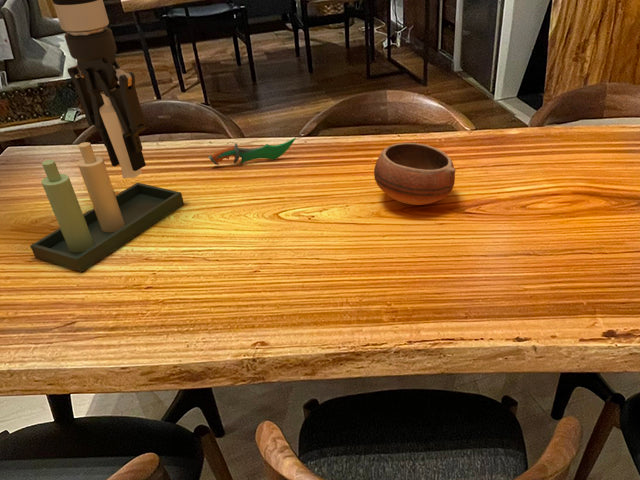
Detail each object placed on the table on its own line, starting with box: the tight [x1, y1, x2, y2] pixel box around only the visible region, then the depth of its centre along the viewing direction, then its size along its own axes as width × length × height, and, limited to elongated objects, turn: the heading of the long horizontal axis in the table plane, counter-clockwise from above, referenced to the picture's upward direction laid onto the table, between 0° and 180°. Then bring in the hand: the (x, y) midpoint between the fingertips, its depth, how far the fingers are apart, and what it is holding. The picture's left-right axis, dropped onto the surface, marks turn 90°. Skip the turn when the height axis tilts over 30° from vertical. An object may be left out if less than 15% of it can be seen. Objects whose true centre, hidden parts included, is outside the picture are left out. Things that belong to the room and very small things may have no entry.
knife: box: [208, 137, 297, 166], centre depth 139 cm, size 20×2×5 cm, turn 104°
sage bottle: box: [40, 159, 94, 253], centre depth 108 cm, size 4×4×16 cm
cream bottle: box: [76, 141, 125, 232], centre depth 114 cm, size 4×4×16 cm
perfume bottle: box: [99, 92, 143, 179], centre depth 114 cm, size 5×4×15 cm
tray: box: [29, 182, 185, 273], centre depth 119 cm, size 12×28×3 cm, turn 153°
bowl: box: [373, 142, 457, 206], centre depth 121 cm, size 16×16×10 cm
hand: (128, 165), depth 118 cm, fingers closed on perfume bottle, 5 cm apart
